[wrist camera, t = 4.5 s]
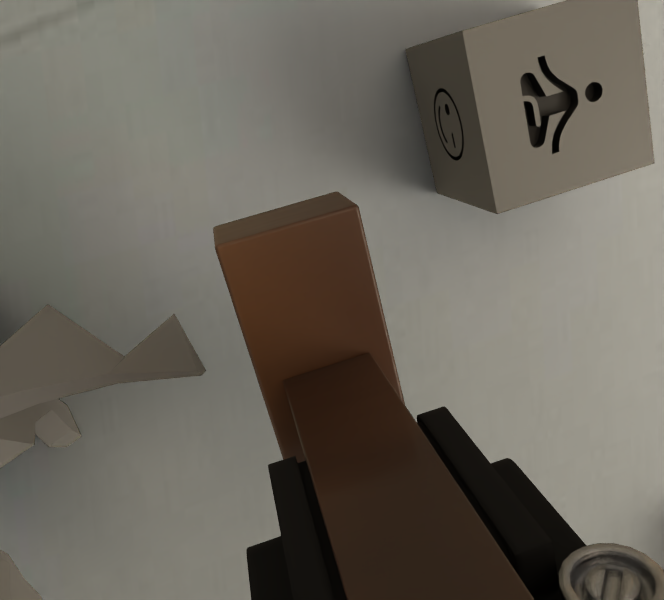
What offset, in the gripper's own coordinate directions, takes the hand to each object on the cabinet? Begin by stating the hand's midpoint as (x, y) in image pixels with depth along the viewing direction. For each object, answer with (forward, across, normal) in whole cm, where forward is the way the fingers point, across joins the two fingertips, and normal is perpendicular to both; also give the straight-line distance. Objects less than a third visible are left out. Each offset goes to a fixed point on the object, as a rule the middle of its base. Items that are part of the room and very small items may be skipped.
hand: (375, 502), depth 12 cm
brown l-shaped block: (+6, 0, 0) cm, 6 cm away
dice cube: (+12, -9, -5) cm, 16 cm away
